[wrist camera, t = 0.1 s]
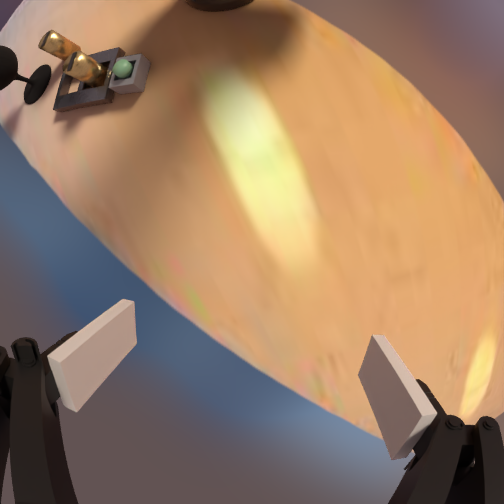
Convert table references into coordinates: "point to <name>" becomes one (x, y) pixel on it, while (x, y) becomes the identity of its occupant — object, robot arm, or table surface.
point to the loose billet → (58, 45)
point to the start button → (122, 68)
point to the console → (132, 75)
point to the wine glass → (5, 71)
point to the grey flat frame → (85, 92)
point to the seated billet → (85, 69)
